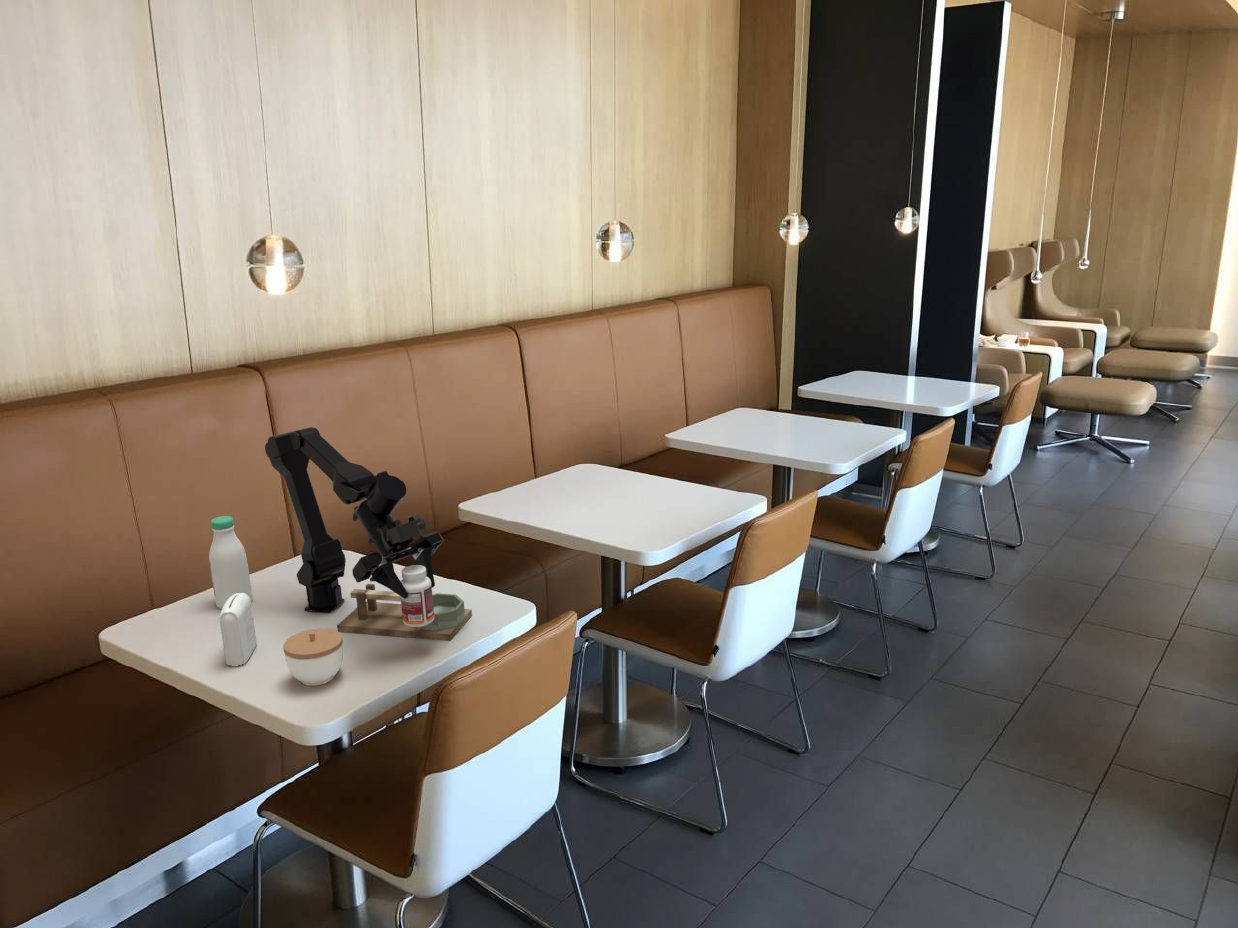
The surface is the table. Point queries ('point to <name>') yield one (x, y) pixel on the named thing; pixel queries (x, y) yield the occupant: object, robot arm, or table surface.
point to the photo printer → (237, 629)
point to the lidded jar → (314, 655)
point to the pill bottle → (417, 597)
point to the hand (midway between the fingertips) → (420, 592)
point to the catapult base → (389, 620)
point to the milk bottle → (228, 562)
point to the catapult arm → (445, 605)
